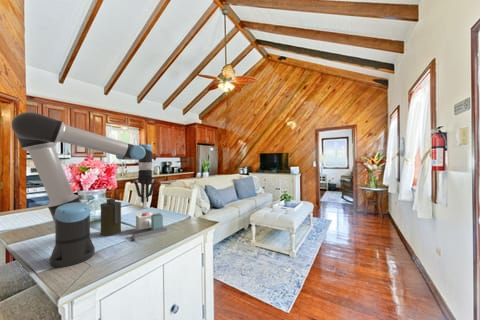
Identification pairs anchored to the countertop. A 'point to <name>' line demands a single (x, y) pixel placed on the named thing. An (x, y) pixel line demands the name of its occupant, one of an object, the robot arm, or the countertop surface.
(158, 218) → the block
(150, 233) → the rail
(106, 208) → the canister
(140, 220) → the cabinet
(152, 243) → the countertop surface
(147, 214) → the button
